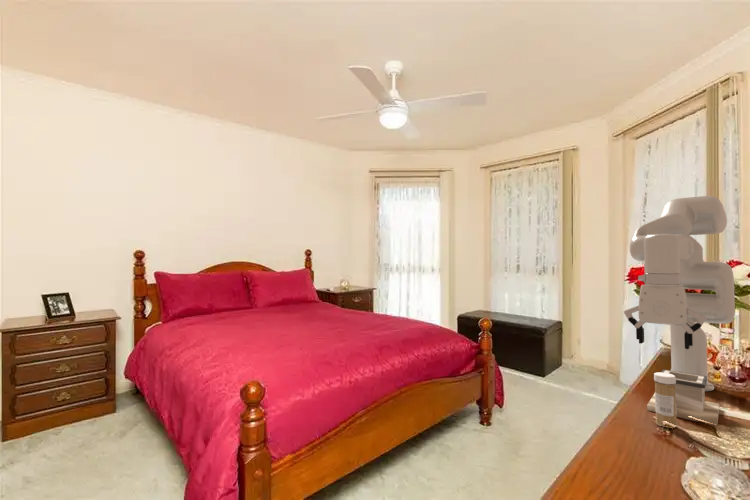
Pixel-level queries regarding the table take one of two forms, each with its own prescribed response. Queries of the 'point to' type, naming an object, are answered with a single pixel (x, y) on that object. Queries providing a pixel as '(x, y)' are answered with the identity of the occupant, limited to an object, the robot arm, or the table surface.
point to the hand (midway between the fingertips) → (663, 345)
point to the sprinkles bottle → (665, 398)
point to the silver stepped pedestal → (691, 398)
